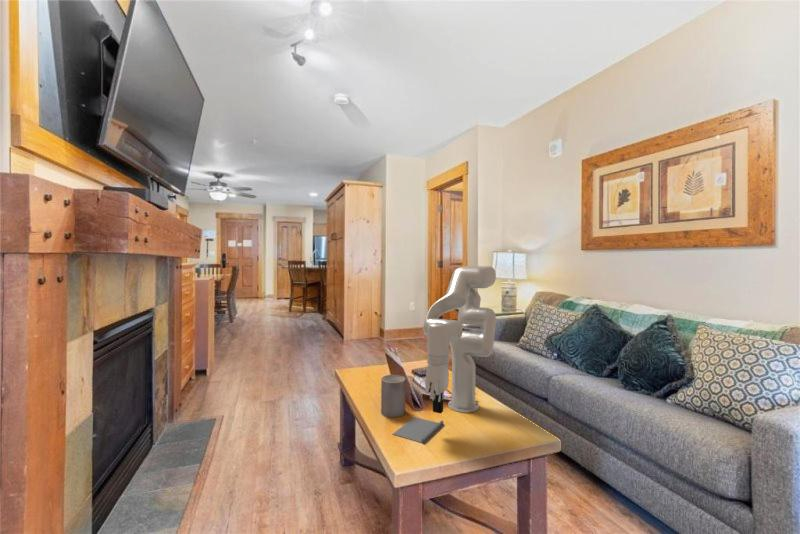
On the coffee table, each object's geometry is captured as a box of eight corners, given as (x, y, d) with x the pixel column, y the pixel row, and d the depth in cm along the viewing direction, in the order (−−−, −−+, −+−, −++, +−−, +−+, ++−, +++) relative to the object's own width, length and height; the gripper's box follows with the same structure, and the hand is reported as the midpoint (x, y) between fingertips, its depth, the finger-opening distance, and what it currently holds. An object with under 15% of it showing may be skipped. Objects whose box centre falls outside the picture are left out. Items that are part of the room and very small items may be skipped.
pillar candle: (388, 406, 147) (388, 370, 147) (409, 410, 143) (409, 373, 143) (376, 415, 139) (376, 376, 139) (398, 419, 134) (398, 380, 134)
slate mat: (414, 417, 136) (414, 413, 136) (444, 425, 130) (444, 421, 130) (392, 435, 122) (392, 430, 122) (424, 444, 116) (424, 439, 116)
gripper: (437, 352, 130) (436, 402, 131) (418, 362, 118) (418, 417, 118) (456, 355, 127) (456, 406, 127) (439, 365, 114) (439, 422, 114)
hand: (437, 411), depth 122 cm, fingers closed
